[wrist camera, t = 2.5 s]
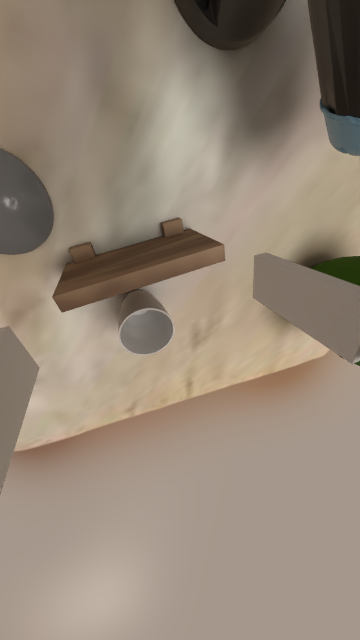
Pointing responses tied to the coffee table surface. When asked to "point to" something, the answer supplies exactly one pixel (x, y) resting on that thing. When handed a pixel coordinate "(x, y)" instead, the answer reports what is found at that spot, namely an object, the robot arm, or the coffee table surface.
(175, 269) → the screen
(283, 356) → the coffee table surface
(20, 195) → the coaster
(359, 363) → the vase
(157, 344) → the cup
